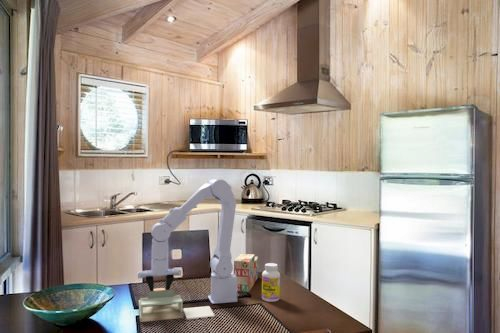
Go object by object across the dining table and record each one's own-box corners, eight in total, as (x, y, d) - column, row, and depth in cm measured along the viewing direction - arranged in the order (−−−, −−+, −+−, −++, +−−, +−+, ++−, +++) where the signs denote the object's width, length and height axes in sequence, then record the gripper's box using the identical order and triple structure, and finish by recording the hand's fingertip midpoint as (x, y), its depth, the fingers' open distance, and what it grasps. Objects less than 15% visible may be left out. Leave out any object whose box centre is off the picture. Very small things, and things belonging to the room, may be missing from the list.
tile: (209, 307, 135) (209, 305, 135) (214, 317, 127) (214, 315, 127) (183, 309, 132) (183, 308, 132) (186, 319, 124) (186, 318, 124)
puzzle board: (177, 300, 142) (177, 296, 142) (183, 317, 126) (183, 314, 126) (138, 303, 138) (138, 300, 138) (140, 322, 122) (140, 318, 122)
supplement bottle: (258, 300, 143) (259, 265, 143) (265, 295, 149) (265, 261, 149) (276, 303, 140) (277, 267, 140) (281, 297, 146) (282, 263, 146)
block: (164, 299, 138) (164, 287, 138) (165, 302, 134) (165, 291, 134) (153, 300, 137) (153, 288, 137) (153, 304, 133) (153, 292, 133)
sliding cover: (179, 305, 133) (180, 288, 133) (182, 311, 126) (182, 294, 126) (140, 308, 129) (140, 291, 129) (140, 315, 123) (141, 298, 123)
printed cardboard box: (244, 276, 174) (245, 248, 174) (258, 277, 173) (258, 249, 173) (233, 291, 153) (233, 260, 153) (248, 292, 152) (249, 261, 152)
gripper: (179, 254, 141) (179, 292, 141) (137, 256, 137) (137, 295, 137) (182, 258, 135) (181, 298, 135) (138, 261, 130) (137, 302, 130)
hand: (159, 297), depth 135 cm, fingers closed on block, 4 cm apart
